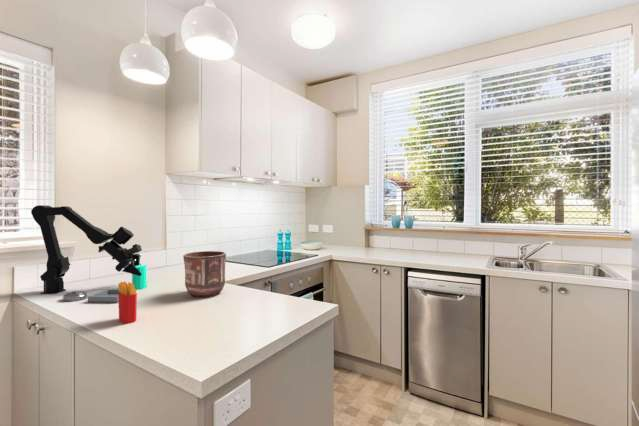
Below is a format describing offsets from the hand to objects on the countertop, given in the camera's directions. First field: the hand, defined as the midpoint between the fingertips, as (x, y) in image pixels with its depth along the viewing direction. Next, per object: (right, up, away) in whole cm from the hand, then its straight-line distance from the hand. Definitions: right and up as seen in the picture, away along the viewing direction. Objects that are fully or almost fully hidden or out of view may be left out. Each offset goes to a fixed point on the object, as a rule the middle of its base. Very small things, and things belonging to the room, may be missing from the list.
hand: (142, 273), depth 153 cm
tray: (-3, -7, -18) cm, 20 cm away
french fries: (+19, -8, -44) cm, 48 cm away
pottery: (+33, -7, -10) cm, 36 cm away
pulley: (-18, -7, -19) cm, 27 cm away
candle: (-1, -7, 0) cm, 7 cm away
